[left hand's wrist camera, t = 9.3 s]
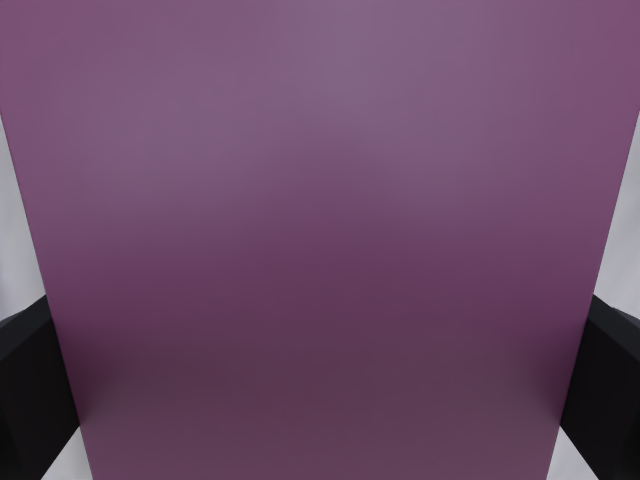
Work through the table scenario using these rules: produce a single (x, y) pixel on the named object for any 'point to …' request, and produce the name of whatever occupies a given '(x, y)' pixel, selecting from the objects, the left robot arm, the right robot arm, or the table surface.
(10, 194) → the table surface
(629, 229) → the table surface
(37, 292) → the table surface
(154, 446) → the cabinet
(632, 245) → the table surface
